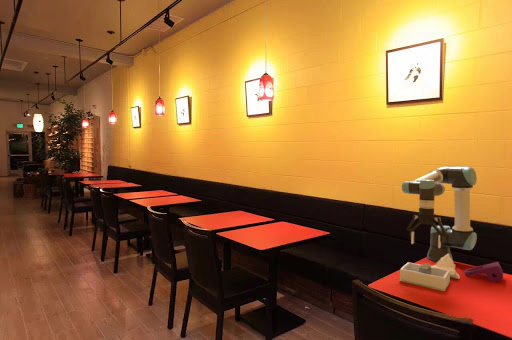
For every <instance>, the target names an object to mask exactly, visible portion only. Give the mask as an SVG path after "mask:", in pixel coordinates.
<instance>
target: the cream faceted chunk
mask: <svg viewBox="0 0 512 340" xmlns="http://www.w3.org/2000/svg"><path fill="white" fill-rule="evenodd" d="M431 267H435V268H440V269H445V270H450V279H458V280H460V277H461V275H460V274H459V273H458V272H457V271H456V264H455V262H454V260H453V258H452V259H451V257H450V255H449V254H447V255H445V256H444V257H442V258H441V260H439V261H438V262H437V261H436V262H435V264H434V265H431Z"/></svg>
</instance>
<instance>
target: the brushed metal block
mask: <svg viewBox="0 0 512 340" xmlns="http://www.w3.org/2000/svg"><path fill="white" fill-rule="evenodd" d="M420 265H421V266H420V267H419V272H420V273H424V274H429V275H431V266H432V264H430V263H425V262H424V263H422V264H420Z"/></svg>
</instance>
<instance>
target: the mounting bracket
mask: <svg viewBox="0 0 512 340" xmlns="http://www.w3.org/2000/svg"><path fill="white" fill-rule="evenodd" d="M464 274H465V276H467V277H469V276H476V275H481V274H484V275H485V276H486V278H487V280H489V281H490V282H493V283H500V282H502V281H503V279H504V271H503V269H502V267H501V265H500V263H499V261H496V262H491V263H486V264H483V265H482V264H481V265H479V266H473V267H470V268H467V269H465V270H464Z"/></svg>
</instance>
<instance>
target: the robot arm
mask: <svg viewBox="0 0 512 340" xmlns="http://www.w3.org/2000/svg"><path fill="white" fill-rule="evenodd" d="M477 177H478V176H477V173H476V170H475V169H474V167H471V166H459V165H458V166H453V165H452V166H451V165H449V166H447V165H445V166H441V167H438V168H434V169H433V170H430V171H429V172H428V173H427V174H425V175H422V176H420V177H419V178H416V179H414V180H411V181H410V180H407V181H405V180H404V181H403V182H402V185H401V191H402V193H404V194H409V195H418V196H419V199H418V200H419V201H418V206H419V208H418V215H416V214H413V215H412V219H411V220H410V222H409V224H408V225H407V227H406V228H405V231H408V232H409V236H408V237H409V238H410V240H411V241H410V243H411V245H413V244H415V231H414V230H416V228H418V227H419V226H420V225H421V224H422V225H427V226H429V225H431V227H430V240H429V241H430V243H429V244H430V246H429V249H428V252H427V254H426V255H427V256H426V258H427V259H428V260H430V261H433V262H436V263H437V262H438V261H439V260H441V258H442V257H444V256H445V255H447V254H449V255H450V257H451V259H452V260H453V256H452V253H451V250H450V249H451V248H457V249H460V250H467V251H471V250H473V248H474V247H475V246H476V244H477V238H478V236H477V233H476V232H474V229H473V227H472V226H471V190H472V189H473V187H474V186H476V184H477V181H478V179H477ZM444 184H448V185H449V184H450V185H451V188H452V189H453V190H454V195H453V196H454V225H453V226H452V227H451V226H449V225H443V223H442V219H441V217H440V216H439V217H435V198H436V197H439V196H441V195H443V194H444V192H445V189H446V187H445V186H444ZM417 219H418V221H417V223H416V224H414V222H415V221H416V220H417ZM434 221H435V222H437V224H438V225H436V223H435V222H434ZM413 224H414V226H413ZM412 226H413V227H412Z"/></svg>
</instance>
